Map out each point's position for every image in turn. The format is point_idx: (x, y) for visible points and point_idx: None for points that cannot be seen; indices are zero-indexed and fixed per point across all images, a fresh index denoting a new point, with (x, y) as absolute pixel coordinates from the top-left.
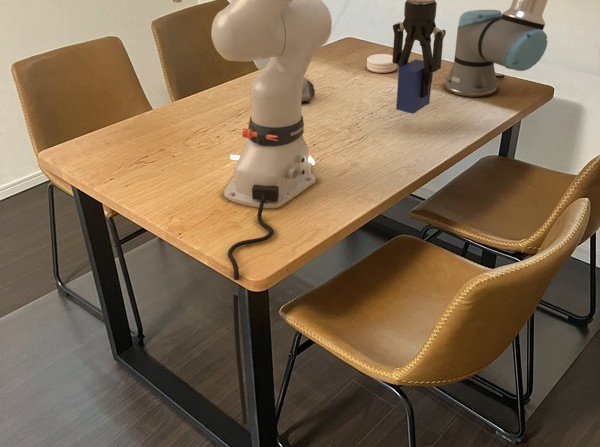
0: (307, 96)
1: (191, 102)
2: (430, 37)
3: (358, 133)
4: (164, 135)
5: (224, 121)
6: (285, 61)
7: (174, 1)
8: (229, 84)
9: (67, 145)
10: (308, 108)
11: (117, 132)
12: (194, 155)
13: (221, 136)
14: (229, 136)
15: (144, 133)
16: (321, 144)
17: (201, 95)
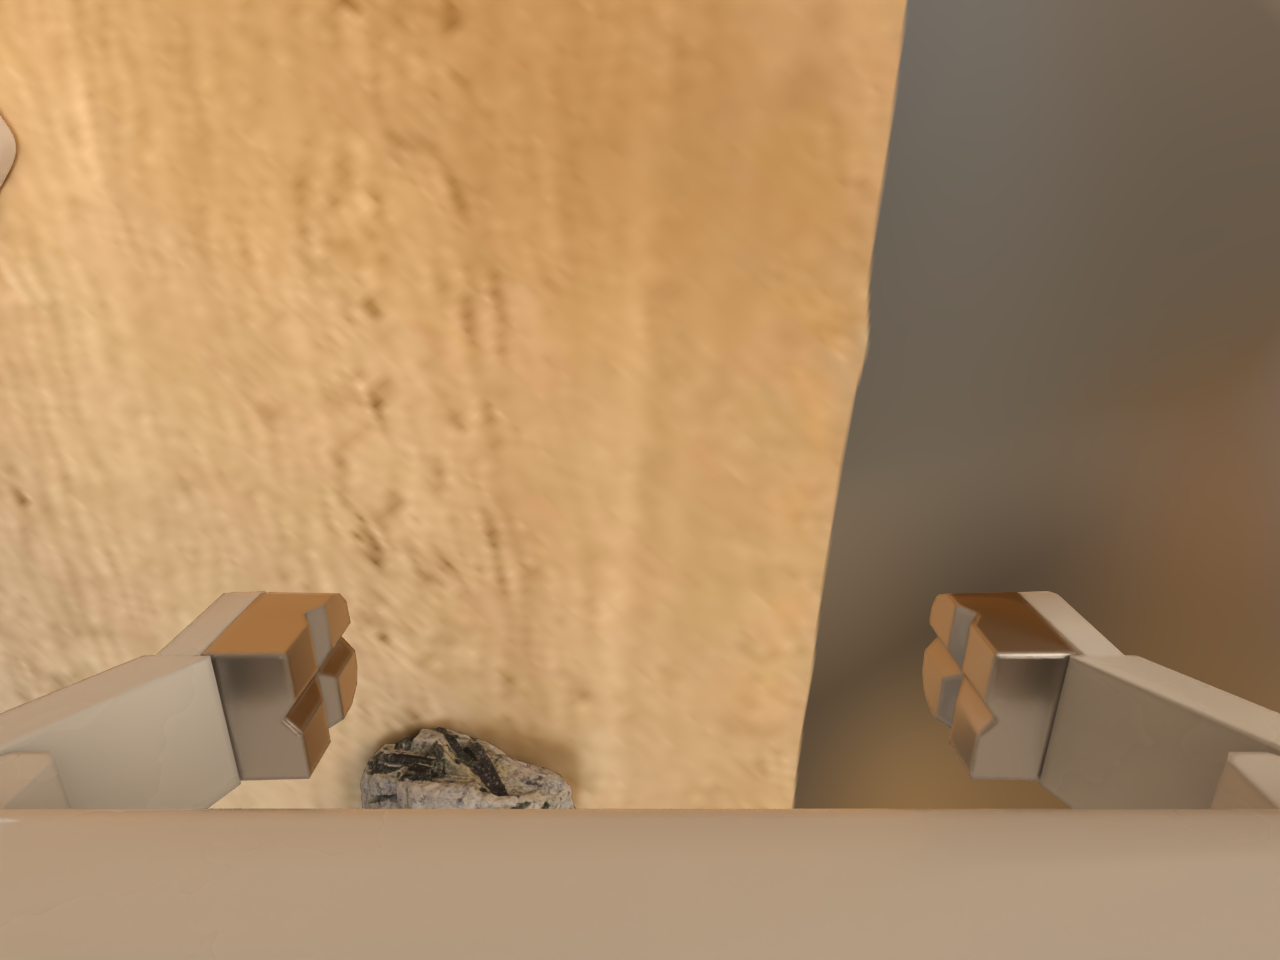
0: (362, 795)
1: (784, 516)
2: None
3: (3, 671)
4: (585, 155)
5: (490, 451)
6: None
7: (300, 594)
8: (791, 748)
9: None
10: (331, 740)
11: (818, 14)
12: (282, 81)
13: (366, 323)
14: (340, 346)
15: (687, 104)
16: (7, 518)
17: (806, 598)
